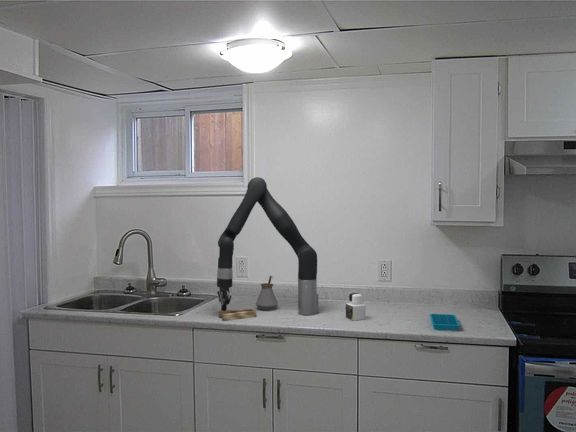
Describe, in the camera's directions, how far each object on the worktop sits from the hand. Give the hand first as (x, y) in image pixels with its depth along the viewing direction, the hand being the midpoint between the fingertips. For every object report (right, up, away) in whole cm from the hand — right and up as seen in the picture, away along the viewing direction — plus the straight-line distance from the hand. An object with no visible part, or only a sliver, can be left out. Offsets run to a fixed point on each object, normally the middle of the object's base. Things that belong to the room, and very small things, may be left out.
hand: (223, 312), depth 255 cm
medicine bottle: (+64, -2, -6) cm, 64 cm away
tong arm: (+6, -2, -1) cm, 7 cm away
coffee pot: (+21, -1, +20) cm, 29 cm away
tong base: (+8, -2, -4) cm, 9 cm away
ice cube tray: (+102, -3, -19) cm, 104 cm away
